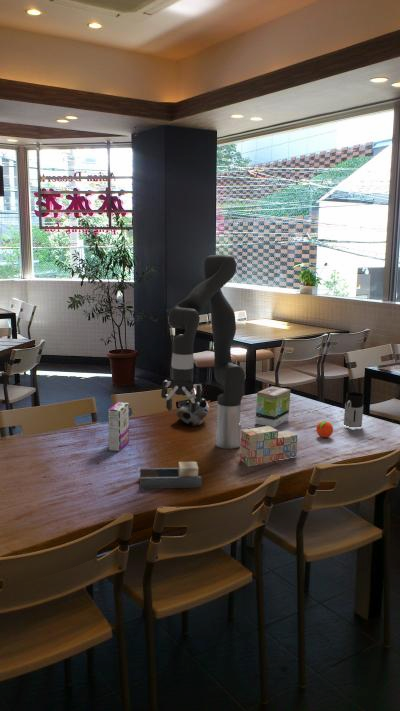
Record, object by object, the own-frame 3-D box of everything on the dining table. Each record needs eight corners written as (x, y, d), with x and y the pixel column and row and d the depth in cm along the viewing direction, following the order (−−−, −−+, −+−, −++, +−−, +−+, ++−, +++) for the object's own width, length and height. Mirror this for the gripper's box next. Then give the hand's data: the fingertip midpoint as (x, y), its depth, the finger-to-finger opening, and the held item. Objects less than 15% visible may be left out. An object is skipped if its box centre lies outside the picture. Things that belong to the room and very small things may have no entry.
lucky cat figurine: (184, 415, 279) (199, 390, 277) (204, 430, 274) (219, 404, 272) (168, 414, 266) (184, 387, 264) (189, 429, 261) (205, 402, 259)
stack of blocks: (286, 453, 236) (288, 422, 233) (296, 458, 230) (298, 427, 228) (239, 461, 226) (241, 429, 224) (248, 466, 221) (250, 434, 218)
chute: (198, 477, 210) (198, 467, 209) (201, 487, 201) (201, 477, 200) (140, 478, 207) (140, 468, 207) (140, 488, 199) (140, 478, 198)
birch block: (196, 475, 208) (196, 461, 207) (197, 482, 202) (198, 468, 201) (178, 475, 207) (178, 461, 206) (179, 482, 201) (180, 468, 200)
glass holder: (365, 426, 272) (368, 393, 269) (354, 434, 260) (357, 400, 257) (346, 422, 276) (348, 390, 273) (335, 430, 264) (337, 397, 261)
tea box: (275, 428, 265) (276, 395, 262) (254, 424, 270) (256, 391, 267) (289, 420, 278) (291, 388, 275) (269, 416, 283) (270, 385, 280)
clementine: (326, 442, 249) (328, 425, 248) (311, 438, 253) (312, 421, 252) (335, 437, 256) (336, 421, 254) (320, 433, 260) (321, 417, 258)
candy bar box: (117, 441, 243) (117, 401, 240) (129, 442, 242) (129, 402, 239) (107, 450, 232) (107, 409, 229) (120, 451, 231) (120, 410, 228)
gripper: (205, 365, 209) (204, 411, 212) (167, 362, 213) (165, 406, 217) (199, 370, 202) (197, 416, 205) (159, 366, 206) (158, 411, 210)
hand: (181, 411), depth 211 cm, fingers open, 8 cm apart
